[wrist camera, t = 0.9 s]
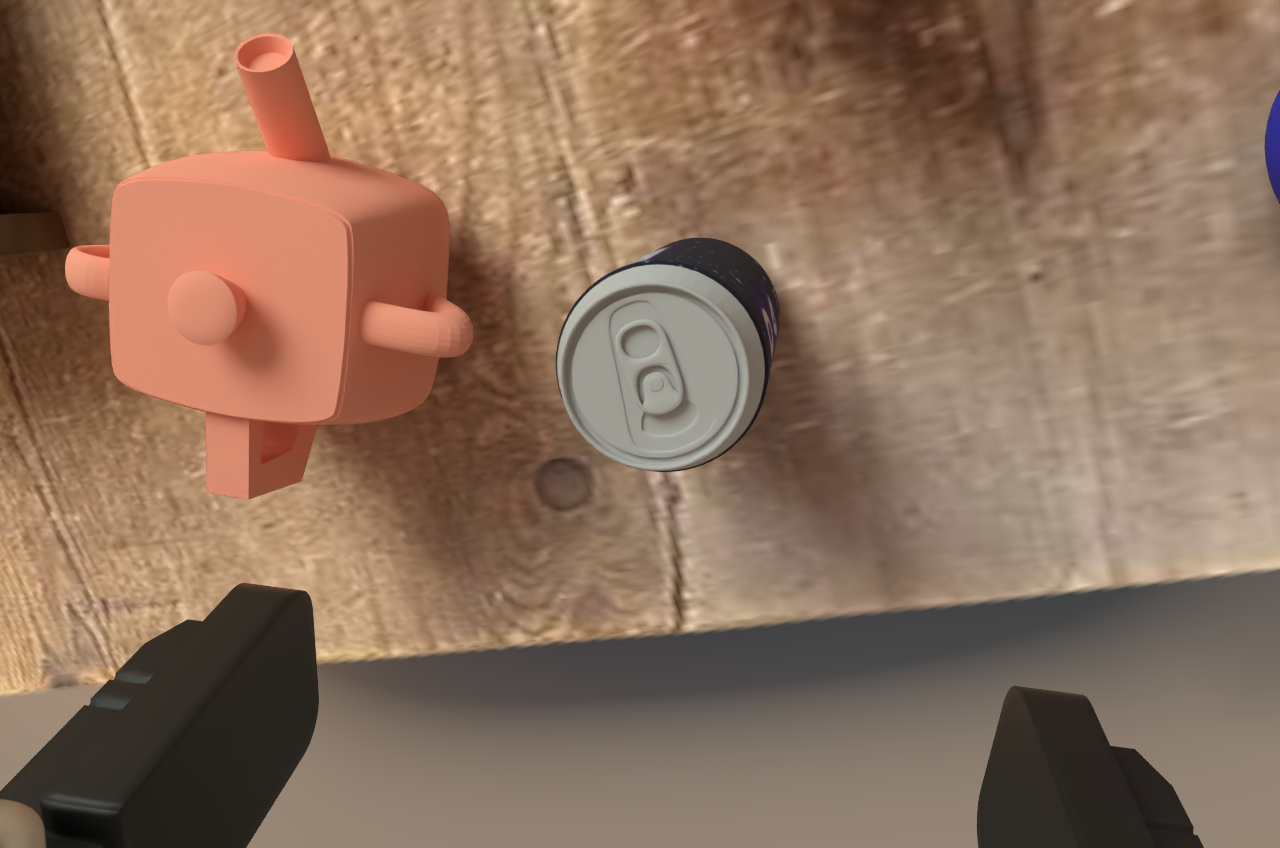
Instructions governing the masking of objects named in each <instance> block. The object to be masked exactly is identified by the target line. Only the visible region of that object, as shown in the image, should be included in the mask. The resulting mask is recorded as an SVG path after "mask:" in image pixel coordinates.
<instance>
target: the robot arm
mask: <svg viewBox="0 0 1280 848" xmlns="http://www.w3.org/2000/svg"><path fill="white" fill-rule="evenodd" d="M318 704H319V696H318V679H317V664H316V649H315V634H314V619H313V607H312V602H311V598H310V596H309V595H308V593H307V592H305V591H301V590H293V589H286V588H278V587H271V586H263V585H255V584H248V583H241V584H239V585H237V586H236V587H234V588H233V589H232V590H231V591H230V593H229V594H228V595H227V596H226V597H225V598H224V599H223V600H222V601H221V602H220V603H219V604H218V606H217V607H216V608H215V609H214V610H213V611H212V612H211V613H210V614H209V615H208V616H207V618H206V619H205V620H204V621H195V620H186V621H184V622H182V623H181V624H179V625H177V626H175V627H173V628H172V629H170V630H168V631H166V632H165V633H163V634H161V635H159V636H157V637H156V638H154V639H152V640H150V641H148V642H147V643H145V644H144V645H143V646H142V647H141V648H140V649H139V650H138V651H137V652H136V653H135V654H134V655H133V656H132V657H131V658H130V659H129V660H128V661H127V662H126V663H125V664H124V665H123V666H122V667H121V669H120V670H119V671H118V672H117V673H116V676H115V679H114V680H109V681H108V682H107V683H106V684H105V685H104V686H103V687H102V688H101V689H100V690H99V691H98V692H97V693H96V694H95V695H94V696H93V697H92V698H91V703H90V705H89V706H86V705H84V706H83V707H82V708H81V709H80V710H79V711H78V712H77V713H76V715H75V716H74V717H73V718H72V719H71V720H70V721H69V722H68V723H67V724H66V725H65V726H64V727H63V728H62V729H61V730H60V731H59V732H58V733H57V734H56V735H55V736H54V737H53V738H52V739H51V740H50V741H49V742H48V743H47V744H46V745H45V746H44V747H43V748H42V749H41V750H40V751H39V752H38V753H37V755H35V756H34V757H33V758H32V759H31V760H30V762H29V763H28V764H27V765H26V766H25V767H24V768H23V769H22V770H21V771H20V772H19V773H18V774H17V775H16V776H15V777H14V778H13V779H12V780H11V781H10V782H9V783H8V784H7V785H6V786H5V787H4V788H3V789H2V790H1V791H0V848H246V847H247V845H248V844H249V842H250V841H251V839H252V837H253V836H254V834H255V833H256V831H257V829H258V828H259V826H260V825H261V823H262V821H263V820H264V818H265V817H266V815H267V813H268V812H269V810H270V809H271V807H272V805H273V804H274V802H275V800H276V799H277V797H278V795H279V794H280V792H281V791H282V789H283V788H284V786H285V784H286V783H287V781H288V780H289V778H290V776H291V775H292V773H293V772H294V770H295V768H296V767H297V765H298V763H299V762H300V760H301V759H302V757H303V755H304V754H305V752H306V750H307V748H308V746H309V744H310V741H311V738H312V735H313V732H314V728H315V724H316V719H317V714H318ZM977 837H978V847H979V848H1204V847H1203V845H1202V844H1201V841H1200V839H1199V837H1198V836H1197V835H1194V834H1193V825H1192V823H1191V822H1190V819H1189V818H1188V816H1187V814H1186V812H1185V810H1184V808H1183V806H1182V804H1181V802H1180V800H1179V798H1178V796H1177V794H1176V792H1175V790H1174V788H1173V786H1172V785H1170V784H1169V783H1168V781H1166V780H1165V779H1164V778H1163V777H1162V776H1161V775H1160V774H1159V773H1158V772H1157V771H1156V770H1155V769H1154V768H1153V767H1152V766H1151V765H1150V764H1149V763H1148V762H1147V761H1146V760H1145V759H1144V758H1143V757H1142V756H1141V755H1140V754H1139V753H1138V752H1137V751H1136V750H1135V749H1129V748H1121V747H1114V746H1110V745H1109V742H1108V740H1107V738H1106V735H1105V733H1104V731H1103V729H1102V727H1101V724H1100V722H1099V720H1098V718H1097V716H1096V713H1095V711H1094V709H1093V707H1092V705H1091V703H1090V701H1089V700H1088V698H1087V697H1086V696H1084V695H1080V694H1071V693H1065V692H1057V691H1050V690H1042V689H1034V688H1026V687H1018V686H1013V687H1011V688H1010V689H1009V691H1008V693H1007V695H1006V697H1005V700H1004V703H1003V707H1002V711H1001V715H1000V718H999V723H998V726H997V730H996V734H995V737H994V741H993V746H992V749H991V753H990V757H989V760H988V764H987V768H986V772H985V776H984V779H983V783H982V787H981V791H980V796H979V802H978V812H977Z"/></svg>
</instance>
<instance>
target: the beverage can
mask: <svg viewBox="0 0 1280 848" xmlns="http://www.w3.org/2000/svg"><path fill="white" fill-rule="evenodd" d="M779 323H780V312H779V304H778V299H777V295H776V292H775V289H774V287H773V285H772V282H771V280H770V279H769V277H768V275H767V274H766V272H765V271H764V269H763V268H762V267H761V266H760V265H759V264H758V262H757V261H756V260H755V259H753V258H752V257H751V256H750V255H749V254H747V253H746V252H745V251H743V250H741V249H740V248H738V247H736V246H734V245H732V244H730V243H727V242H724V241H720V240H716V239H711V238H689V239H684V240H679V241H676V242H673V243H670V244H668V245H666V246H664V247H662V248H660V249H658V250H656V251H654V252H652V253H650V254H647V255H645V256H643V257H641V258H639V259H637V260H635V261H633V262H631V263H629V264H627V265H625V266H623V267H621V268H619V269H617V270H615V271H613V272H611V273H609V274H607V275H605V276H604V277H602V278H601V279H599V280H598V281H597V282H595V283H594V284H593V285H592V286H590V287H589V288H588V289H587V290H586V291H585V292H584V293H583V294H582V295H581V297H580V298H579V299H578V300H577V302H576V303H575V304H574V306H573V307H572V309H571V311H570V312H569V314H568V316H567V318H566V320H565V322H564V325H563V327H562V330H561V333H560V336H559V341H558V345H557V352H556V374H557V382H558V387H559V391H560V394H561V397H562V400H563V403H564V405H565V408H566V410H567V412H568V415H569V417H570V419H571V420H572V422H573V424H574V425H575V427H576V428H577V430H578V431H579V432H580V434H581V435H582V436H583V437H584V438H585V440H586V441H587V442H588V443H590V444H591V445H592V446H593V447H594V448H595V449H596V450H597V451H599V452H600V453H602V454H604V455H605V456H607V457H608V458H610V459H612V460H614V461H616V462H618V463H620V464H623V465H626V466H629V467H632V468H636V469H641V470H648V471H656V472H673V471H681V470H687V469H691V468H695V467H698V466H701V465H704V464H706V463H708V462H710V461H712V460H714V459H716V458H718V457H719V456H721V455H723V454H724V453H726V452H727V451H728V450H729V449H731V448H732V447H733V446H734V445H735V444H736V443H738V441H739V440H740V439H741V438H742V437H743V436H744V435H745V434H746V432H747V431H748V430H749V428H750V427H751V425H752V424H753V422H754V420H755V419H756V417H757V415H758V413H759V411H760V408H761V406H762V403H763V400H764V397H765V393H766V388H767V383H768V379H769V374H770V369H771V365H772V360H773V355H774V350H775V346H776V341H777V336H778V331H779Z"/></svg>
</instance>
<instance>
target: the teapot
mask: <svg viewBox="0 0 1280 848" xmlns="http://www.w3.org/2000/svg"><path fill="white" fill-rule="evenodd" d="M234 61H235V63H236V66H237V69H238V72H239V74H240V77H241V80H242V82H243V85H244V88H245V91H246V93H247V96H248V99H249V101H250V104H251V107H252V110H253V112H254V115H255V118H256V120H257V123H258V126H259V128H260V131H261V134H262V137H263V139H264V142H265V145H266V147H267V150H264V151H231V152H218V153H207V154H198V155H192V156H187V157H183V158H179V159H175V160H171V161H167V162H164V163H161V164H158V165H156V166H153V167H151V168H149V169H146V170H144V171H142V172H140V173H137V174H135V175H133V176H131V177H130V178H128V179H126V180H124V181H122V182H120V183H119V184H118V185H117V186H116V187H115V190H114V194H113V200H112V209H111V224H110V245H84V246H77V247H74V248H73V249H71V250H70V252H69V253H68V255H67V258H66V263H65V275H66V279H67V282H68V284H69V286H70V288H71V289H72V290H73V291H75V292H76V293H78V294H81V295H83V296H87V297H90V298H95V299H100V300H105V301H109V324H110V349H111V359H112V367H113V371H114V374H115V376H116V377H117V378H118V380H120V381H121V382H122V383H123V384H124V385H126V386H128V387H130V388H132V389H134V390H136V391H138V392H141V393H143V394H146V395H148V396H151V397H154V398H158V399H161V400H164V401H167V402H171V403H174V404H178V405H182V406H185V407H189V408H193V409H197V410H201V411H205V412H206V492H208V493H213V494H219V495H225V496H231V497H237V498H242V499H248V500H249V499H251V498H254V497H257V496H260V495H263V494H266V493H269V492H272V491H274V490H277V489H280V488H283V487H286V486H289V485H292V484H295V483H297V482H300V481H302V478H303V474H304V471H305V467H306V464H307V460H308V457H309V453H310V450H311V446H312V443H313V439H314V436H315V432H316V429H317V425H343V424H360V423H367V422H373V421H378V420H384V419H388V418H392V417H395V416H398V415H401V414H404V413H407V412H408V411H410V410H412V409H414V408H416V407H418V406H419V405H421V404H422V403H423V402H424V401H425V400H426V399H427V397H428V396H429V394H430V392H431V389H432V386H433V384H434V381H435V376H436V371H437V366H438V361H439V357H443V358H445V357H456V356H459V355H462V354H464V353H465V352H466V351H467V350H468V349H469V347H470V346H471V344H472V341H473V325H472V322H471V320H470V318H469V317H468V315H467V314H466V313H465V312H464V311H463V310H462V309H461V308H459V307H458V306H456V305H454V304H453V303H451V302H450V301H448V300H446V299H447V285H448V266H449V218H448V212H447V209H446V207H445V205H444V203H443V202H442V200H441V199H440V198H439V197H438V196H437V195H436V194H435V193H434V192H432V191H431V190H429V189H427V188H426V187H424V186H422V185H420V184H418V183H416V182H413V181H411V180H409V179H406V178H404V177H401V176H398V175H395V174H392V173H389V172H387V171H384V170H381V169H378V168H375V167H371V166H368V165H365V164H361V163H358V162H354V161H350V160H346V159H342V158H337V157H332V156H330V154H329V151H328V148H327V145H326V142H325V139H324V136H323V133H322V130H321V127H320V125H319V122H318V119H317V116H316V113H315V110H314V107H313V104H312V101H311V98H310V95H309V92H308V89H307V86H306V83H305V80H304V77H303V75H302V72H301V69H300V66H299V63H298V60H297V57H296V54H295V51H294V48H293V45H292V43H291V42H290V41H289V39H287V38H286V37H284V36H281V35H278V34H271V33H267V34H259V35H255V36H252V37H250V38H248V39H246V40H244V41H243V42H242V43H240V44H239V45H238V47H237V48H236V50H235V51H234Z"/></svg>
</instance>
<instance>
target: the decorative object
mask: <svg viewBox="0 0 1280 848" xmlns="http://www.w3.org/2000/svg"><path fill="white" fill-rule="evenodd" d="M1265 157H1266V165H1267V170H1268V175H1269V179H1270V182H1271V185H1272V188H1273V191H1274V193H1275V195H1276V197H1277V199H1278V201H1279V203H1280V90H1279V92H1278V94H1277V97H1276V99H1275V101H1274V103H1273V105H1272V108H1271V111H1270V115H1269V118H1268V122H1267V128H1266V135H1265Z"/></svg>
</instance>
